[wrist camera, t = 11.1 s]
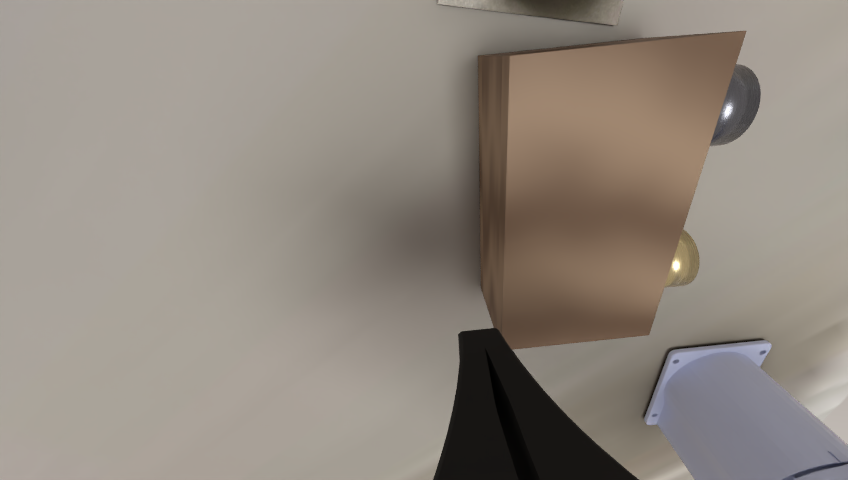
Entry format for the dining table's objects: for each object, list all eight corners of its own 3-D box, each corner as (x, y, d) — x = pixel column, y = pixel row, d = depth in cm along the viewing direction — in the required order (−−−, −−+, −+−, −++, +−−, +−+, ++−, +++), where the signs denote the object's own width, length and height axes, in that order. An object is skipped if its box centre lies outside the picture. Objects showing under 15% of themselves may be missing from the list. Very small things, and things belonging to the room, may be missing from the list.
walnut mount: (596, 275, 23) (648, 335, 18) (480, 287, 23) (501, 350, 18) (642, 38, 16) (746, 30, 11) (478, 55, 16) (509, 55, 11)
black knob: (684, 136, 17) (741, 153, 14) (516, 154, 17) (539, 174, 14) (705, 63, 16) (774, 65, 13) (519, 83, 16) (546, 89, 13)
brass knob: (648, 264, 21) (687, 298, 18) (511, 278, 21) (528, 315, 18) (662, 216, 20) (707, 244, 17) (513, 231, 20) (532, 263, 17)
